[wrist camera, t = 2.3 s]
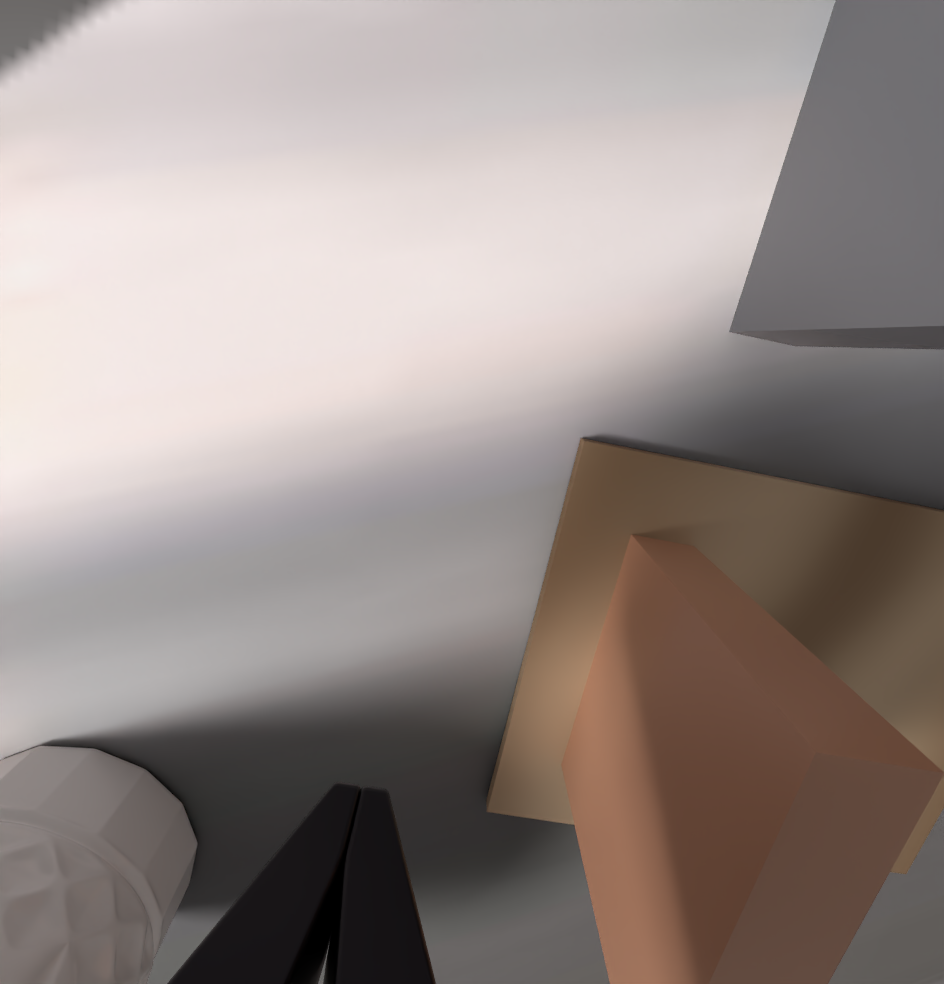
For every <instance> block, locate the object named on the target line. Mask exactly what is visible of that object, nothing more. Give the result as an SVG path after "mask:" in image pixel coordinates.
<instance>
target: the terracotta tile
mask: <svg viewBox="0 0 944 984" xmlns="http://www.w3.org/2000/svg"><path fill="white" fill-rule="evenodd" d="M561 767H562V771H563V775H564V780H565V784H566V789H567V793H568V798H569V802H570V807H571V811H572V816H573V820H574V825H575V829H576V833H577V838H578V842H579V847H580V851H581V856H582V860H583V865H584V869H585V874H586V878H587V883H588V887H589V892H590V896H591V900H592V905H593V909H594V914H595V918H596V923H597V927H598V932H599V936H600V941H601V945H602V950H603V954H604V958H605V963H606V967H607V972H608V976H609V981H610V984H828V983H829V981H830V979H831V977H832V976H833V974H834V972H835V970H836V968H837V966H838V965H839V963H840V961H841V959H842V957H843V956H844V954H845V952H846V950H847V948H848V947H849V945H850V943H851V941H852V939H853V938H854V936H855V934H856V932H857V930H858V929H859V927H860V925H861V923H862V921H863V920H864V918H865V916H866V914H867V912H868V911H869V909H870V907H871V905H872V903H873V902H874V900H875V898H876V896H877V894H878V893H879V891H880V889H881V887H882V885H883V884H884V882H885V880H886V878H887V876H888V875H889V873H890V871H891V869H892V867H893V865H894V864H895V862H896V860H897V858H898V856H899V855H900V853H901V851H902V849H903V847H904V846H905V844H906V842H907V840H908V838H909V837H910V835H911V833H912V831H913V829H914V828H915V826H916V824H917V822H918V820H919V819H920V817H921V815H922V813H923V811H924V810H925V808H926V806H927V804H928V802H929V801H930V799H931V797H932V795H933V793H934V792H935V790H936V788H937V786H938V784H939V783H940V781H941V779H942V777H943V775H944V772H943V771H942V770H941V769H940V768H938V767H937V766H936V765H935V764H934V763H933V762H932V761H931V760H930V759H928V758H927V757H926V756H925V755H924V754H923V753H922V752H921V751H920V750H919V749H917V748H916V747H915V746H914V745H913V744H912V743H911V742H910V741H909V740H908V739H906V738H905V737H904V736H903V735H902V734H901V733H900V732H899V731H898V730H896V729H895V728H894V727H893V726H892V725H891V724H890V723H889V722H888V721H887V720H885V719H884V718H883V717H882V716H881V715H880V714H879V713H878V712H877V711H875V710H874V709H873V708H872V707H871V706H870V705H869V704H868V703H867V702H866V701H864V700H863V699H862V698H861V697H860V696H859V695H858V694H857V693H856V692H855V691H853V690H852V689H851V688H850V687H849V686H848V685H847V684H846V683H845V682H843V681H842V680H841V679H840V678H839V677H838V676H837V675H836V674H835V673H834V672H832V671H831V670H830V669H829V668H828V667H827V666H826V665H825V664H824V663H823V662H821V661H820V660H819V659H818V658H817V657H816V656H815V655H814V654H813V653H811V652H810V651H809V650H808V649H807V648H806V647H805V646H804V645H803V644H802V643H800V642H799V641H798V640H797V639H796V638H795V637H794V636H793V635H792V634H790V633H789V632H788V631H787V630H786V629H785V628H784V627H783V626H782V625H781V624H779V623H778V622H777V621H776V620H775V619H774V618H773V617H772V616H771V615H770V614H768V613H767V612H766V611H765V610H764V609H763V608H762V607H761V606H760V605H758V604H757V603H756V602H755V601H754V600H753V599H752V598H751V597H750V596H749V595H747V594H746V593H745V592H744V591H743V590H742V589H741V588H740V587H739V586H738V585H736V584H735V583H734V582H733V581H732V580H731V579H730V578H729V577H728V576H726V575H725V574H724V573H723V572H722V571H721V570H720V569H719V568H718V567H717V566H715V565H714V564H713V563H712V562H711V561H710V560H709V559H708V558H707V557H705V556H704V555H703V554H702V553H701V552H700V551H699V550H698V549H697V548H696V547H694V546H691V545H686V544H680V543H675V542H670V541H664V540H659V539H654V538H648V537H643V536H638V535H632V534H631V536H630V540H629V543H628V546H627V550H626V553H625V556H624V560H623V563H622V566H621V569H620V573H619V576H618V579H617V583H616V586H615V589H614V593H613V596H612V599H611V602H610V606H609V609H608V612H607V616H606V619H605V622H604V626H603V629H602V632H601V635H600V639H599V642H598V645H597V649H596V652H595V655H594V659H593V662H592V665H591V668H590V672H589V675H588V678H587V682H586V685H585V688H584V691H583V695H582V698H581V701H580V705H579V708H578V711H577V715H576V718H575V721H574V724H573V728H572V731H571V734H570V738H569V741H568V744H567V748H566V751H565V754H564V757H563V761H562V764H561Z"/></svg>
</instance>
